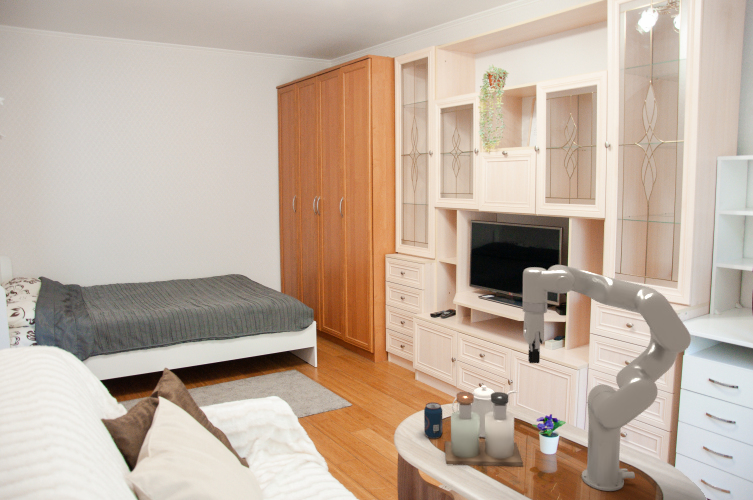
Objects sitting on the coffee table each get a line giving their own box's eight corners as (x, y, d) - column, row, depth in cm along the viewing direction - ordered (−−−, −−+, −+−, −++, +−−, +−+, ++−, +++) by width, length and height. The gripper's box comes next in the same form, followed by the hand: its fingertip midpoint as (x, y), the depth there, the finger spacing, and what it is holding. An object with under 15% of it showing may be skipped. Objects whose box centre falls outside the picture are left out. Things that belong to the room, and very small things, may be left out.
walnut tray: (516, 446, 204) (516, 442, 204) (522, 466, 191) (522, 462, 190) (444, 445, 207) (444, 441, 206) (446, 464, 193) (446, 460, 193)
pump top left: (506, 412, 199) (507, 392, 198) (509, 420, 193) (509, 399, 192) (489, 412, 199) (490, 392, 198) (491, 419, 193) (492, 398, 192)
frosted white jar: (511, 445, 202) (511, 397, 200) (515, 459, 192) (516, 409, 190) (483, 444, 203) (483, 397, 201) (486, 458, 193) (486, 409, 191)
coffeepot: (520, 439, 209) (520, 391, 207) (453, 438, 212) (452, 390, 209) (515, 426, 220) (516, 381, 218) (452, 425, 223) (451, 380, 220)
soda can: (422, 431, 218) (422, 402, 216) (439, 430, 219) (439, 400, 217) (427, 440, 211) (427, 410, 209) (444, 438, 212) (444, 408, 210)
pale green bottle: (477, 444, 203) (478, 397, 201) (480, 458, 194) (480, 409, 191) (450, 444, 204) (450, 397, 202) (451, 457, 194) (451, 408, 192)
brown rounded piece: (472, 412, 200) (472, 391, 199) (474, 419, 194) (474, 398, 193) (456, 412, 200) (456, 391, 199) (457, 419, 194) (457, 398, 193)
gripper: (518, 301, 184) (518, 354, 187) (527, 312, 170) (526, 370, 172) (541, 301, 184) (540, 354, 186) (552, 312, 169) (551, 370, 171)
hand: (533, 362), depth 179 cm, fingers closed
